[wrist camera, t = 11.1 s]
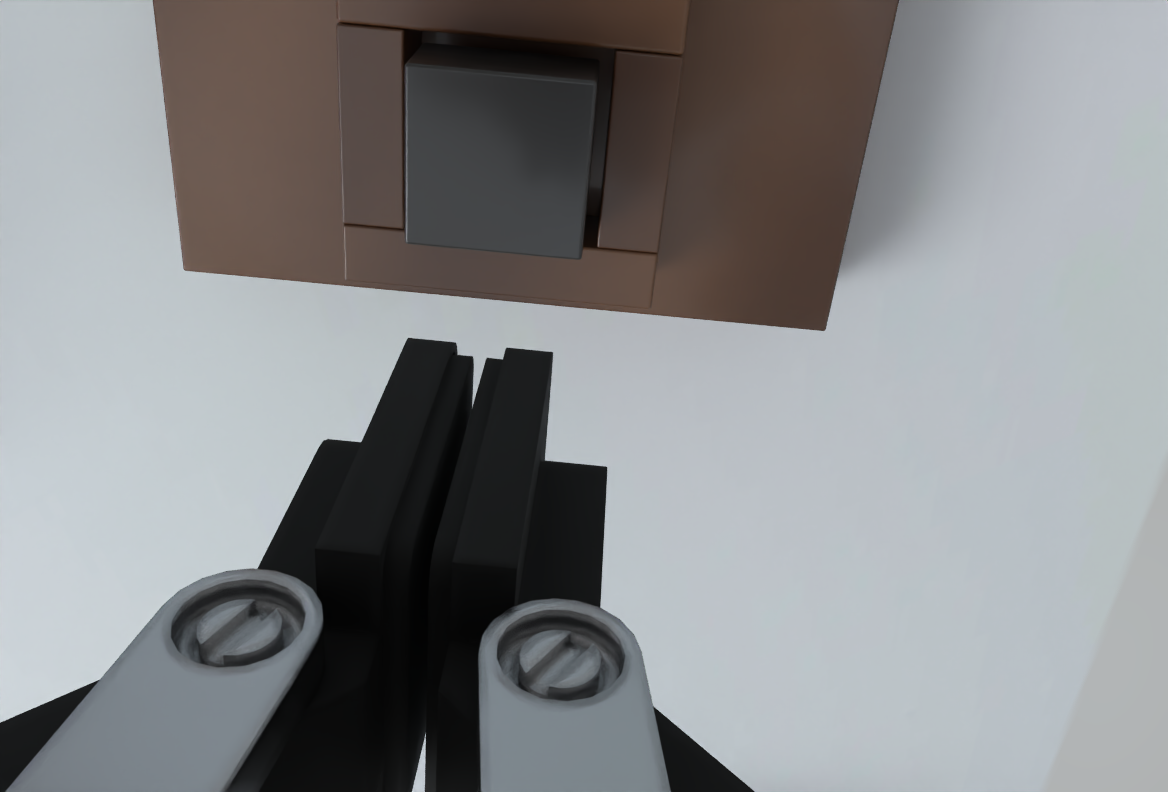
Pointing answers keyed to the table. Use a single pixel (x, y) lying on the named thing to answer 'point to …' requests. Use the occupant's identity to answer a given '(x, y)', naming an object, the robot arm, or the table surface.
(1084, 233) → the table surface
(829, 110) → the key block
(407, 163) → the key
